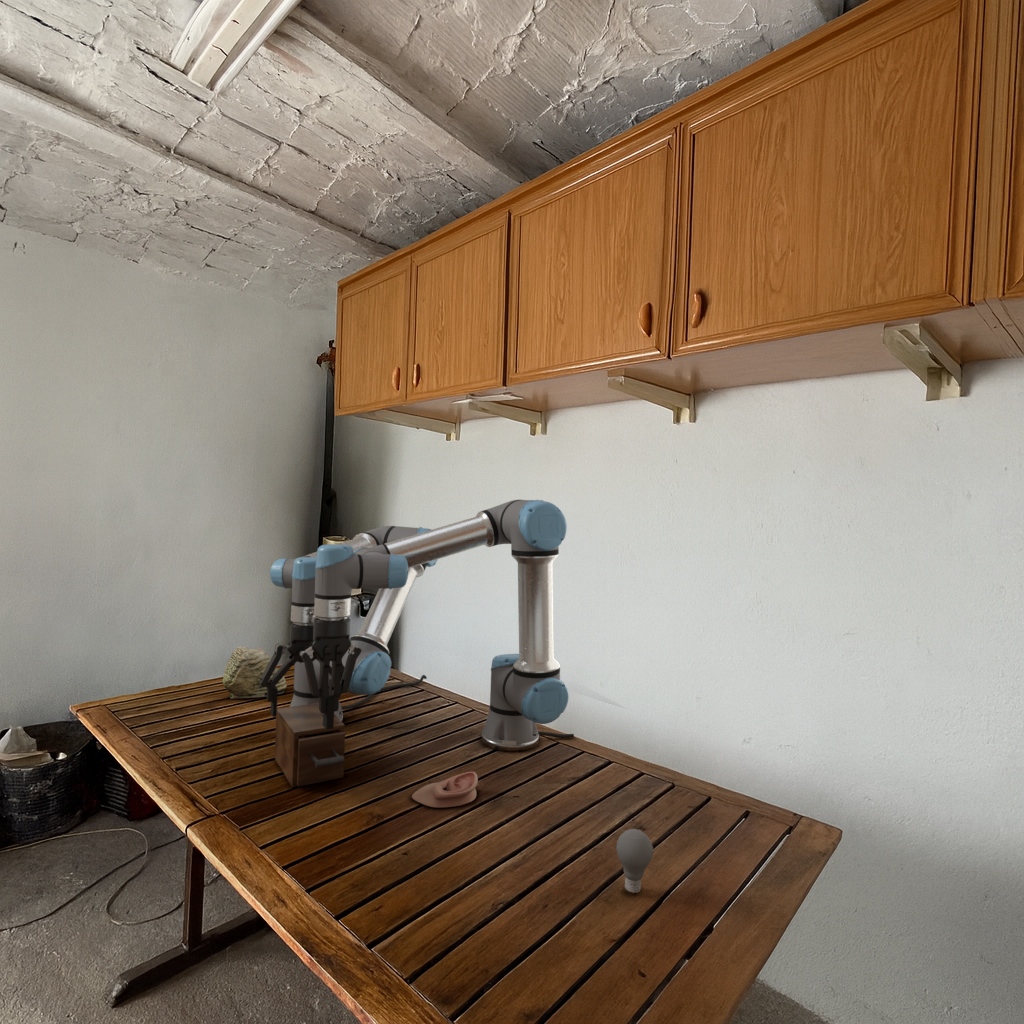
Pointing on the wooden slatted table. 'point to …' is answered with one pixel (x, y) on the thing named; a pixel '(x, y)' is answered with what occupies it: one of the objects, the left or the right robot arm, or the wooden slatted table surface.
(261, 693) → the fossil
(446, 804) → the anatomical model
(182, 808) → the wooden slatted table surface
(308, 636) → the left robot arm
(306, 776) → the drawer
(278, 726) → the cabinet
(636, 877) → the light bulb
